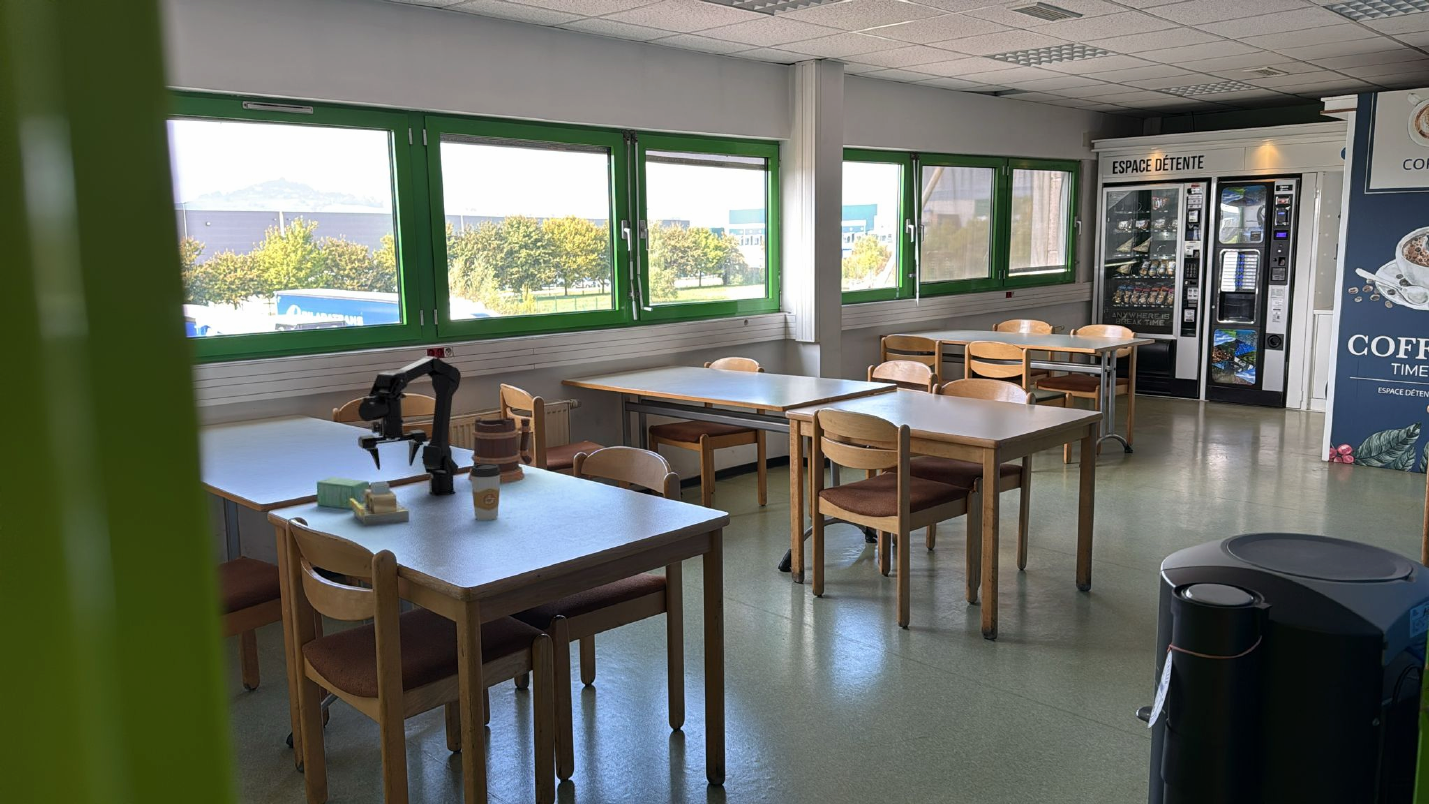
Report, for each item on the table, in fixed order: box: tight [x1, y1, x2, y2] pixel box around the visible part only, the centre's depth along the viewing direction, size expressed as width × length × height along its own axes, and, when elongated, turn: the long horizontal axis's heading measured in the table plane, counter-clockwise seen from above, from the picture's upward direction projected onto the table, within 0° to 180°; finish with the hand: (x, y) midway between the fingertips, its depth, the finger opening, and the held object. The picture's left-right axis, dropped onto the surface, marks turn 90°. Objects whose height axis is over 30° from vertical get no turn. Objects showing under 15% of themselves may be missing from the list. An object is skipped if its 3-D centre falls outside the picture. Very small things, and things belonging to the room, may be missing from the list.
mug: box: [467, 416, 533, 484], centre depth 348 cm, size 18×23×20 cm
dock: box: [349, 498, 410, 527], centre depth 295 cm, size 13×14×5 cm
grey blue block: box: [370, 480, 391, 495], centre depth 294 cm, size 5×4×2 cm
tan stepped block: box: [365, 488, 397, 513], centre depth 295 cm, size 11×6×4 cm, turn 31°
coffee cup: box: [469, 464, 501, 521], centre depth 296 cm, size 8×8×15 cm
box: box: [316, 477, 371, 511], centre depth 310 cm, size 7×14×8 cm, turn 71°
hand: (394, 467), depth 306 cm, fingers open, 9 cm apart
